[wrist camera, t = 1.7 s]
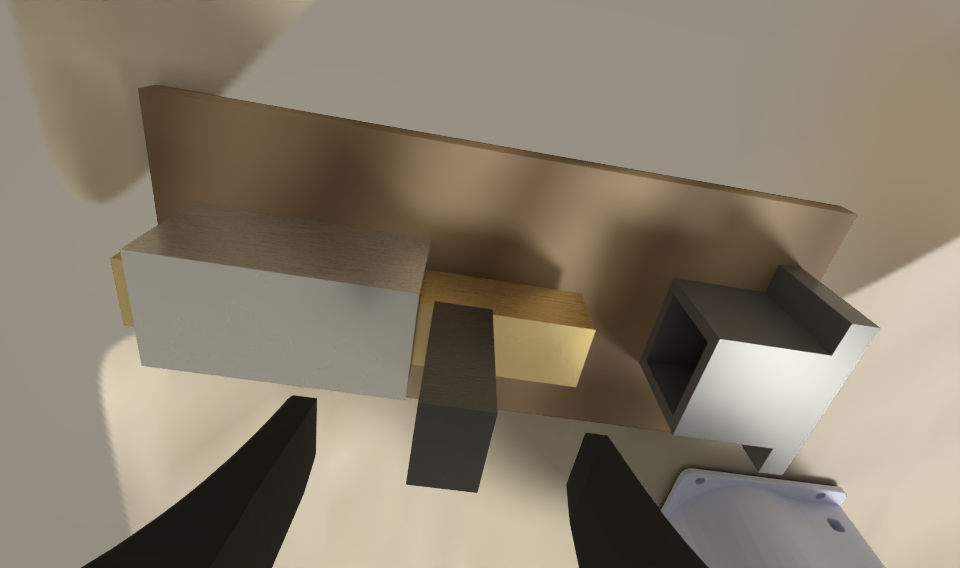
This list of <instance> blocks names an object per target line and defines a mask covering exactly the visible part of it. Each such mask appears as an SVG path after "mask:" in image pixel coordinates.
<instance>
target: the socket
mask: <svg viewBox="0 0 960 568" xmlns="http://www.w3.org/2000/svg"><path fill="white" fill-rule="evenodd" d="M879 330H880V327H878V326H877V325H876V324H874V323H873V322H872V321H870V320H869V319H868V318H866V317H865V316H864V315H863V314H861V313H860V312H859V311H857V310H856V309H855V308H853V307H852V306H851V305H850V304H848V303H847V302H846V301H844V300H843V299H842V298H840V297H839V296H838V295H836V294H835V293H834V292H833V291H831V290H830V289H829V288H827V287H826V286H825V285H823V284H822V283H821V282H820V281H818V280H817V279H816V278H814V277H813V276H812V275H810V274H809V273H808V272H806V271H805V270H804V269H803V268H797V267H791V266H785V265H779V266H778V268H777V270H776V272H775V274H774V276H773V278H772V280H771V282H770V284H769V286H768V288H767V289H766V291H765V292H761V291H754V290H748V289H742V288H735V287H729V286H723V285H717V284H710V283H704V282H698V281H691V280H685V279H679V278H673V280H672V283H671V285H670V288H669V290H668V293H667V295H666V298H665V300H664V303H663V305H662V308H661V310H660V312H659V315H658V317H657V320H656V322H655V325H654V327H653V330H652V332H651V335H650V337H649V340H648V342H647V344H646V347H645V349H644V352H643V354H642V357H641V359H640V362H639V364H640V366H641V368H642V370H643V372H644V375H645V377H646V379H647V381H648V383H649V385H650V387H651V390H652V392H653V394H654V396H655V398H656V400H657V402H658V405H659V407H660V409H661V411H662V413H663V415H664V417H665V419H666V422H667V424H668V426H669V428H670V430H671V432H672V434H673V435H674V436H682V437H689V438H697V439H704V440H712V441H720V442H727V443H735V444H741V445H742V446H743V448H744V450H745V451H746V453H747V454H748V456H749V458H750V459H751V461H752V463H753V464H754V466H755V467H756V469H757V471H758V472H761V473H769V474H777V475H783V473H784V472H785V470H786V469H787V467H788V466H789V464H790V463H791V461H792V460H793V458H794V457H795V455H796V454H797V452H798V451H799V449H800V448H801V446H802V445H803V443H804V442H805V440H806V439H807V437H808V436H809V434H810V433H811V431H812V430H813V428H814V427H815V425H816V424H817V422H818V421H819V419H820V418H821V416H822V415H823V413H824V412H825V410H826V409H827V407H828V406H829V404H830V403H831V401H832V400H833V398H834V397H835V395H836V394H837V392H838V391H839V389H840V388H841V386H842V385H843V383H844V382H845V380H846V379H847V377H848V376H849V374H850V373H851V371H852V370H853V368H854V367H855V365H856V364H857V362H858V361H859V359H860V358H861V356H862V355H863V353H864V352H865V350H866V349H867V347H868V346H869V344H870V343H871V342H872V340H873V339H874V337H875V336H876V334H877V333H878V331H879Z"/></svg>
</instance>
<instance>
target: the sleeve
mask: <svg viewBox="0 0 960 568" xmlns="http://www.w3.org/2000/svg"><path fill="white" fill-rule="evenodd" d="M430 245H431V239H427V238H421V237H415V236H408V235H402V234H396V233H389V232H383V231H377V230H371V229H364V228H358V227H352V226H345V225H339V224H333V223H327V222H320V221H314V220H308V219H301V218H295V217H289V216H283V215H276V214H270V213H264V212H257V211H251V210H245V209H238V208H232V207H226V206H220V205H213V204H207V203H201V202H194V203H192V204H190V205H189V206H187V207H186V208H184V209H182V210H181V211H179V212H178V213H176V214H175V215H173V216H171V217H170V218H168V219H167V220H165V221H164V222H162V223H160V224H159V225H157V226H156V227H154V228H153V229H151V230H149V231H148V232H146V233H145V234H143V235H142V236H140V237H138V238H137V239H135V240H134V241H132V242H131V243H129V244H127V245H126V246H124V247H123V248H121V249H120V253H121V258H122V263H123V269H124V274H125V279H126V285H127V290H128V295H129V300H130V306H131V311H132V316H133V322H134V327H135V332H136V337H137V343H138V348H139V353H140V359H141V364H142V366H148V367H156V368H164V369H171V370H179V371H187V372H194V373H202V374H209V375H217V376H225V377H232V378H240V379H247V380H255V381H263V382H270V383H278V384H286V385H293V386H301V387H308V388H316V389H324V390H331V391H339V392H347V393H354V394H362V395H369V396H377V397H385V398H392V399H400V400H405V399H406V394H407V388H408V383H409V378H410V373H411V368H412V365H411V357H412V350H413V342H414V335H415V327H416V320H417V312H418V305H419V298H420V293H421V289H422V284H423V280H424V275H425V270H427V267H428V260H429V252H430Z"/></svg>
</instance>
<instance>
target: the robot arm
mask: <svg viewBox="0 0 960 568" xmlns="http://www.w3.org/2000/svg"><path fill="white" fill-rule="evenodd" d="M316 417H317V398H310V397H302V396H294V395H293V396H291V397H290V398H288V399H287V401H286V402H285V403H284V404H283V405H282V406H281V407H280V408H279V409H278V411H277V412H276V413H275V414H274V415H273V416H272V417H271V418H270V419H269V420H268V421H267V422H266V423H265V424H264V425H263V426H262V427H261V428H260V429H259V430H258V431H257V432H256V434H255V435H253V436H252V437H251V438H250V439H249V440H248V441H247V442H246V443H245V444H244V445H243V446H242V447H241V448H240V449H239V450H238V451H237V452H236V453H235V454H234V455H233V456H232V457H231V458H229V459H228V460H227V461H226V462H225V463H224V464H223V465H222V466H220V467H219V468H218V469H217V470H216V471H215V472H214V473H212V474H211V475H210V476H209V477H208V478H207V479H206V480H204V481H203V482H202V483H201V484H200V485H198V486H197V487H196V488H195V489H194V490H192V491H191V492H190V493H189V494H187V495H186V496H185V497H184V498H182V499H181V500H180V501H179V502H177V503H176V504H175V505H173V506H172V507H171V508H169V509H168V510H167V511H165V512H164V513H163V514H161V515H160V516H159V517H157V518H156V519H154V520H153V521H152V522H150V523H149V524H147V525H146V526H144V527H143V528H142V529H140V530H139V531H137V532H136V533H134V534H133V535H132V536H130V537H129V538H127V539H126V540H124V541H123V542H121V543H120V544H118V545H117V546H115V547H114V548H112V549H111V550H109V551H107V552H106V553H104V554H102V555H101V556H99V557H98V558H96V559H94V560H93V561H91V562H89V563H88V564H86V565H85V566H83V567H81V568H272V566H273V564H274V562H275V559H276V557H277V555H278V552H279V550H280V548H281V545H282V543H283V541H284V539H285V536H286V534H287V532H288V529H289V527H290V525H291V522H292V520H293V518H294V515H295V513H296V511H297V508H298V506H299V504H300V501H301V499H302V496H303V494H304V491H305V488H306V485H307V482H308V479H309V475H310V472H311V469H312V465H313V462H314V459H315V455H316ZM567 497H568V509H569V518H570V525H571V531H572V536H573V540H574V545H575V550H576V555H577V560H578V564H579V568H886V567H885V566H884V565H883V563H882V562H881V561H880V559H879V558H878V557H877V555H876V554H875V553H874V551H873V550H872V549H871V547H870V546H869V545H868V543H867V542H866V541H865V539H864V538H863V537H862V535H861V534H860V533H859V531H858V530H857V528H856V527H855V526H854V524H853V523H852V522H851V520H850V519H849V518H848V516H847V515H846V514H845V512H844V511H843V510H842V508H841V507H840V505H841V504H842V503H843V501H844V500H845V498H846V493H845V492H844V490H843V489H842V488H841V487H836V486H828V485H820V484H812V483H804V482H796V481H788V480H780V479H772V478H765V477H757V476H749V475H741V474H733V473H725V472H717V471H709V470H701V469H693V468H688V469H685V470H683V471H682V472H681V473H680V475H679V477H678V479H677V480H676V482H675V484H674V486H673V488H672V490H671V492H670V494H669V496H668V498H667V499H666V501H665V503H664V505H663V507H662V509H661V511H660V509H659V508H658V507H657V505H656V504H655V502H654V501H653V500H652V498H651V497H650V496H649V494H648V493H647V492H646V490H645V489H644V487H643V486H642V485H641V483H640V482H639V480H638V479H637V478H636V476H635V475H634V473H633V472H632V470H631V469H630V468H629V466H628V465H627V463H626V462H625V460H624V459H623V457H622V456H621V454H620V453H619V452H618V450H617V449H616V447H615V446H614V444H613V443H612V441H611V440H610V439H609V437H608V436H606V435H598V434H590V433H586V434H585V436H584V439H583V442H582V444H581V447H580V450H579V452H578V455H577V458H576V460H575V463H574V466H573V468H572V471H571V474H570V476H569V479H568V482H567Z"/></svg>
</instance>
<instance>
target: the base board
mask: <svg viewBox="0 0 960 568" xmlns="http://www.w3.org/2000/svg"><path fill="white" fill-rule="evenodd" d="M138 90H139V97H140V104H141V111H142V118H143V125H144V132H145V138H146V145H147V152H148V159H149V166H150V173H151V180H152V187H153V194H154V200H155V207H156V214H157V221H158V225H159V224H160V223H162V222H164V221H165V220H167V219H168V218H170V217H171V216H173V215H175V214H176V213H178V212H179V211H181V210H182V209H184V208H186V207H187V206H189V205H190V204H192V203H194V202H201V203H207V204H213V205H220V206H226V207H232V208H238V209H245V210H251V211H257V212H264V213H270V214H276V215H283V216H289V217H295V218H301V219H308V220H314V221H320V222H327V223H333V224H339V225H345V226H352V227H358V228H364V229H371V230H377V231H383V232H389V233H396V234H402V235H408V236H415V237H421V238H427V239H431V245H430V252H429V260H428V267H427V270H432V271H439V272H445V273H452V274H459V275H465V276H472V277H478V278H485V279H491V280H498V281H504V282H511V283H517V284H524V285H530V286H537V287H543V288H550V289H556V290H563V291H569V292H576V293H582V295H583V297H584V300H585V303H586V305H587V308H588V311H589V313H590V316H591V319H592V321H593V324H594V327H595V329H596V331H595V334H594V337H593V340H592V343H591V345H590V348H589V351H588V354H587V357H586V360H585V363H584V366H583V369H582V372H581V375H580V378H579V381H578V384H577V386H576V387H571V386H563V385H556V384H549V383H541V382H534V381H527V380H520V379H512V378H505V377H498V376H496V392H497V409H499V410H507V411H514V412H522V413H529V414H537V415H545V416H552V417H560V418H567V419H575V420H582V421H590V422H598V423H605V424H613V425H620V426H628V427H636V428H643V429H651V430H658V431H666V432H671V430H670V428H669V426H668V424H667V422H666V419H665V417H664V415H663V413H662V411H661V409H660V407H659V405H658V402H657V400H656V398H655V396H654V394H653V392H652V390H651V387H650V385H649V383H648V381H647V379H646V377H645V375H644V372H643V370H642V368H641V366H640V364H639V362H640V359H641V357H642V354H643V352H644V349H645V347H646V344H647V342H648V340H649V337H650V335H651V332H652V330H653V327H654V325H655V322H656V320H657V317H658V315H659V312H660V310H661V308H662V305H663V303H664V300H665V298H666V295H667V293H668V290H669V288H670V285H671V283H672V280H673V278H679V279H685V280H691V281H698V282H704V283H710V284H717V285H723V286H729V287H735V288H742V289H748V290H754V291H761V292H765V291H766V289H767V288H768V286H769V284H770V282H771V280H772V278H773V276H774V274H775V272H776V270H777V268H778V266H779V265H785V266H791V267H797V268H803V269H804V270H805V271H806V272H808V273H809V274H810V275H812V276H813V277H814V278H816V279H817V280H818V281H820V280H821V279H822V277H823V275H824V273H825V271H826V270H827V268H828V266H829V264H830V263H831V261H832V259H833V257H834V255H835V254H836V252H837V250H838V249H839V247H840V245H841V243H842V241H843V240H844V238H845V236H846V234H847V233H848V231H849V229H850V227H851V225H852V224H853V222H854V220H855V219H856V217H857V214H855V213H853V212H851V211H849V210H847V209H845V208H843V207H841V206H837V205H831V204H826V203H820V202H814V201H809V200H803V199H797V198H792V197H786V196H780V195H775V194H769V193H763V192H758V191H752V190H747V189H741V188H735V187H730V186H724V185H718V184H712V183H707V182H701V181H695V180H690V179H684V178H678V177H672V176H667V175H662V174H656V173H650V172H644V171H639V170H633V169H628V168H622V167H616V166H611V165H605V164H599V163H594V162H588V161H582V160H576V159H571V158H565V157H559V156H554V155H548V154H543V153H537V152H531V151H526V150H520V149H514V148H509V147H503V146H498V145H492V144H486V143H480V142H474V141H469V140H463V139H458V138H452V137H447V136H441V135H435V134H429V133H424V132H418V131H413V130H407V129H401V128H396V127H390V126H384V125H379V124H373V123H367V122H362V121H356V120H350V119H345V118H339V117H333V116H327V115H322V114H316V113H310V112H305V111H299V110H293V109H287V108H282V107H277V106H271V105H265V104H259V103H254V102H249V101H243V100H237V99H231V98H226V97H220V96H215V95H209V94H203V93H198V92H192V91H186V90H181V89H175V88H169V87H164V86H158V85H153V86H148V87H143V88H138ZM423 370H424V366H418V365H412V368H411V373H410V378H409V383H408V388H407V394H406V397H408V398H416V399H419V395H420V388H421V382H422V376H423Z"/></svg>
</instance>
